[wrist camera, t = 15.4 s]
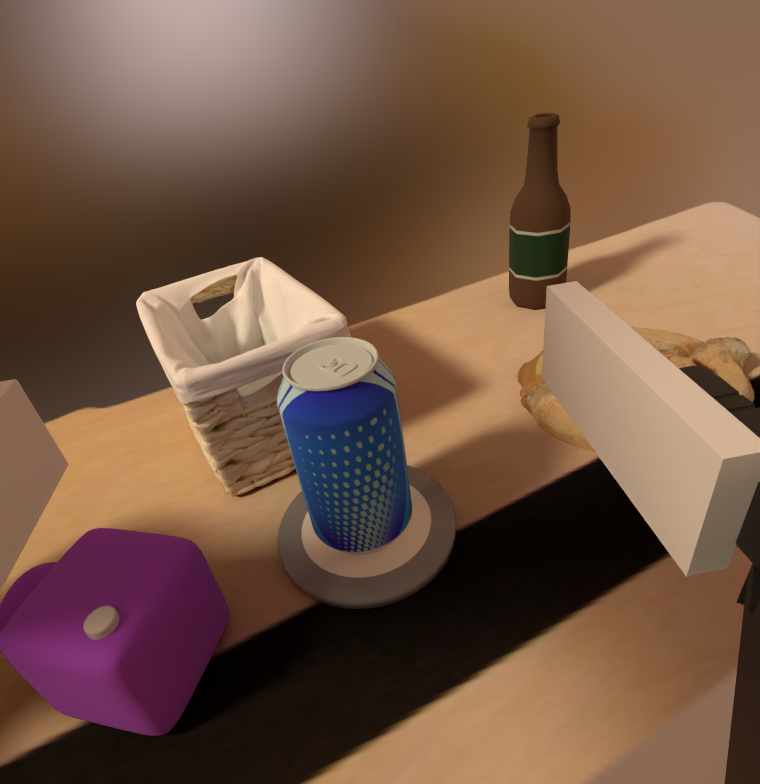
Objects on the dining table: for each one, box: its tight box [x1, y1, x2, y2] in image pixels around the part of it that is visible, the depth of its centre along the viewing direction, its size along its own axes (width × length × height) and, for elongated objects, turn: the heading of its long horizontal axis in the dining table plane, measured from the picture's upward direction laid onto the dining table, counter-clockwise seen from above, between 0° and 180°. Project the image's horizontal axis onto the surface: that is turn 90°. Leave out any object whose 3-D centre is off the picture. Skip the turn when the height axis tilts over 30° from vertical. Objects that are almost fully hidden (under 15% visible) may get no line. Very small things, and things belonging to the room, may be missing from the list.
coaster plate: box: [278, 466, 456, 609], centre depth 45 cm, size 15×15×1 cm
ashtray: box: [518, 327, 754, 452], centre depth 55 cm, size 24×24×5 cm
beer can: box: [277, 337, 412, 555], centre depth 40 cm, size 8×8×16 cm
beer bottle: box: [509, 113, 570, 310], centre depth 70 cm, size 8×8×24 cm
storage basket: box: [136, 257, 351, 496], centre depth 57 cm, size 24×16×15 cm
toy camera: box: [0, 528, 229, 736], centre depth 35 cm, size 11×14×10 cm
